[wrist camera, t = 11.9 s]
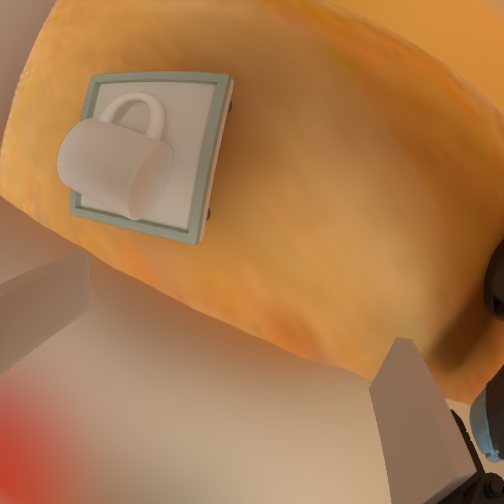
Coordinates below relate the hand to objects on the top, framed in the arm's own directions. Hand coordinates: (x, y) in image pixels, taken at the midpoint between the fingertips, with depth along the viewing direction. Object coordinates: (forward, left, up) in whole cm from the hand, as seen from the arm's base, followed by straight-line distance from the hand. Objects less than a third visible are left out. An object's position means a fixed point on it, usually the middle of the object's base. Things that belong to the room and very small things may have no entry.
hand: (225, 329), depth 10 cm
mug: (+16, -6, -19) cm, 26 cm away
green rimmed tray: (+16, -6, -25) cm, 30 cm away
